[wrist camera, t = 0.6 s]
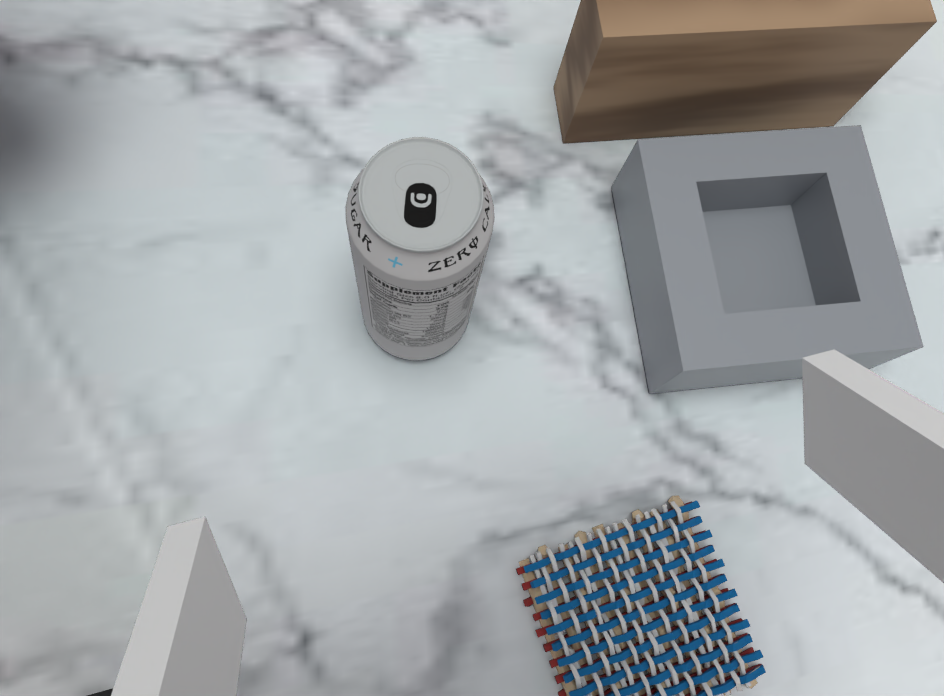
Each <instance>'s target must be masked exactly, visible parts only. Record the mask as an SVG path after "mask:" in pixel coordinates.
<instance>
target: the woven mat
mask: <svg viewBox="0 0 944 696" xmlns="http://www.w3.org/2000/svg"><path fill="white" fill-rule="evenodd" d="M668 502H669V504H670V505H671V507H672V509H669V510H668V509H667V505H666V503H665V504H664V505H662V508H663V513H659V511H658V509H657V510H656V509H651V511H652V512H650V515H651V517H650V515H649V513H648V511H646V512H644V514H643V513H642V512H641V511H640V510H639V509H638V510H636V511H634V512H632V524H631V525H630V524H629V522H628V520H627V519H626V518H625V519H624V520H622V522H623V524H624V525H625V526H624V525H623V524H622V523H618V524H617V523H615V522H614V523H612V528H613V531H612V532H611V530H610V527H609V526H607V527H605V528H604V527H603V525H602V524H601V525H598V526H595V527H593V528H592V529H593V532H594V534H595V537H596V538H594V539H592V534H591V533H590V532H588V533H587V534H586V532H582V531H578V532H577V533H576V534H575V535H574V536H575V538H574V539H575V541H576V543H577V545H575V546H573V543H572V541H571V542H568V543H567V544H568V545H567V544H566V545H564V543H563V544H559V547H558V549H559V551H560V552H558V553H555V554H553V553H552V551H551V549H550V548H547V547H546V545H543V546H541V547H539V548H538V551H537V552H536V553H535V554H536V557H537V561H536V560H535V557H534V555H531V556H530V559H531V562H532V563H530V561H529V559H528V558H527V559H525V560H522V561H520V562H519V565H520V568H517V569H516V570H517V573H518V575H520V574H523V578H524V581H525V583H523V584H522V587H523V590H524V591H525V590H527V589H528V591H529V593H530V595H531V597H529V598H527V599H525V600H523V601H524V604H525V607H526V606H530V605H532V604H534V608H535V611H536V613H535V614H533V618H534V620H535V621H537V620H539V621H540V624H541V627H542V628H540V629H538V630H535V631H536V633H537V636H538V637H540V636H543V635H545V638H546V640H547V643H546V644H544V645H543V646H544V649H545V652H548V651H550V652H551V654H552V657H553V660H550V661H549V662H550V665H551V668H553V667H556V668H557V671H558V674H559V675H556V676H555V679H556V682H557V684H559V683H562V686H563V688H564V689H562V690H561V691H559V692H558V695H559V696H586V695H587V696H631V694H633V695H634V696H675V695H676V694H678V695H679V696H722V693H723V694H724V696H728V695H730V694H731V691H730V690H731V689H732V688H733V687H735V686H736V688H737V691H742V687H741V684H745V685H746V686H747V688H748V687H750V688H752V687H754V686H755V685H756V684H757V681H756V680H755V679H756V678H757V677H758V676H760V675H762V674H764V673H766V672H765V669H764V667H763V665H762V664H757V665H755V666H752V667H750V668H749V667H748V664H747V663H748V662H751V661H755V660H758V659H760V658H762V657H763V655H762V653H761V651H760V650H757V651H755V652H754V650H753V647H751V648H749V649H747V650H745V651H743V652H742V650H741V648H743V647H744V646H745V645H747V644H749V643H751V642H753V641H752V638H751V636H750V634H747V633H745V634H742V635H740V636H737V637H736V635H735V633H734V632H735V631H739V630H742V629H745V628H747V627H750V624H749V622H748V620H747V619H746V620H742V619H741V618H740V619H737V620H734V621H732V622H730V621H729V618H728V617H729V616H730V615H732V614H734V613H735V612H738V611H740V610H739V607H738V605H737V603H733V604H730V605H728V606H725V601H724V600H727V599H730V598H733V597H735V596H737V593H736V591H735V589H732V590H729V591H728V588H726V589H723V590H719V588H718V587H717V585H719V584H721V583H723V582H725V581H727V579H726V577H725V574H720V575H717V576H715V577H712V578H711V575H710V573H709V571H711V570H714V569H717V568H720V567H723V566H725V565H724V563H723V560H722V559H720V560H716V559H714V560H712V561H709V562H707V563H705V561H704V558H703V557H704V556H706V555H708V554H710V553H712V552H714V551H715V550H714V548H713V546H712V545H708V546H706V547H703V548H700V549H699V546H698V544H697V542H698V541H701V540H704V539H707V538H710V537H712V534H711V532H710V530H708V531H702V532H699V533H696V534H693V532H692V529H691V527H693V526H695V525H698V524H700V523H702V519H701V517H700V516H696V517H694V518H691V519H689V514H688V511H690V510H693V509H696V508H699V507H700V505H699V503H698V501H694V502H692V501H691V502H689V503H686V504H684V503H683V501H682V500H681V499H680V497H679V496H672V497H671V498H670V499H669V500H668ZM645 517H646V519H645ZM673 517H675V521H676V523H677V524H676V525H675V523H674V522H673V520H672V519H671V518H673ZM664 520H667V522H668V523H669V525H670V527H668V528H667V526H666V524H665V522H664ZM647 527H650V530H651V533H652V534H649V531H648V529H647ZM604 529H605V530H604ZM605 531H606V532H605ZM635 531H636V533H637V535H638V539H635V537H634V533H633V532H635ZM678 532H680V533H681V535H682V537H683V538H681V539H680V538H679V533H678ZM672 534H674V537H675V538H674V537H673V535H672ZM614 539H617V540H618V542H619V544H620V546H617V545H616V542H615V540H614ZM654 541H655V542H656V543H657V544H658V546H659V547H658V548H656V549H655V546H654V544H653V542H654ZM609 542H610V543H609ZM610 544H611V545H610ZM597 546H599V547H600V550H601V552H602V553H600V554H599V553H598V551H597V549H596V548H595V547H597ZM568 547H569V548H568ZM611 547H612V548H611ZM641 547H642V548H643V550H644V553H643V554H642V553H641V552H640V550H639V548H641ZM685 547H687V550H688V552H689V553H688V554H686V552H685V551H684V549H683V548H685ZM579 552H580V553H581V559H582V561H580V560H579V558H578V556H577V553H579ZM623 553H624V560H625V561H623V560H622V558H621V554H623ZM680 553H681V554H682V556H681V554H680ZM572 556H573V558H572ZM661 556H664V560H665V563H662V564H661V561H660V559H659V557H661ZM615 557H616V558H615ZM573 559H574V561H575V563H574V561H573ZM560 560H563V563H564V566H565V567H564V568H561V569H559V570H558V567H557V563H556V561H560ZM602 561H605V563H606V565H607V568H605V569H603V565H602ZM647 561H648V563H649V565H650V568H649V569H647V568H646V564H645V562H647ZM617 562H618V563H617ZM691 562H693V564H694V568H692V565H691ZM597 563H598V565H597ZM685 563H686V566H687V570H686V571H685V569H684V567H683V564H685ZM640 564H641V565H640ZM540 568H541V570H542V572H543V574H544V575H543V576H541V573H540V571H539V569H540ZM584 569H585V571H586V573H585V571H584ZM627 570H628V571H627ZM533 571H535V574H536V577H537V578H536V577H535V574H534V572H533ZM578 571H579V572H580V574H581V577H582V578H580V576H579V574H578ZM665 571H669V572H670V574H671V577H669V578H667V576H666V574H665ZM621 572H622V573H623V575H624V576H625V578H623V576H622V573H621ZM628 572H629V573H628ZM586 574H587V575H586ZM629 574H630V575H629ZM566 575H568V578H569V581H570V582H569V583H567V584H564V582H563V580H562V577H564V576H566ZM698 576H699V579H700V581H701V582H699V583H698V582H697V580H696V578H695V577H698ZM608 577H611V578H612V581H613V583H611V584H610V583H609V581H608V580H607V578H608ZM652 577H654V578H655V580H656V583H654V584H653V582H652V580H651V578H652ZM689 579H691V580H692V582H693V583H694V585H691V584H690V581H689ZM546 583H547V588H548V591H547V590H546V587H545V585H544V584H546ZM604 583H605V584H604ZM605 585H606V586H605ZM674 585H676V589H677V590H674V589H673V586H674ZM585 586H586V588H585ZM591 587H592V589H593V590H592V589H591ZM629 587H630V588H629ZM571 591H573V593H574V594H575V596H574V597H572V598H570V599H569V595H568V592H571ZM658 591H660V592H661V593H662V594H663V596H661V597H659V598H658V593H657V592H658ZM704 591H705V592H706V593H707V595H705V596H704ZM614 592H618V594H619V596H617V597H615V594H614ZM652 593H653V595H652ZM696 593H698V594H699V600H697V599H696V596H695V594H696ZM609 596H610V597H609ZM595 599H596V601H595ZM638 600H639V601H638ZM679 601H681V602H682V604H683V606H682V607H680V606H679ZM596 602H597V603H596ZM591 603H592V604H591ZM546 604H547V605H546ZM635 604H636V607H635ZM547 606H548V608H547ZM577 606H579V610H580V612H581V613H578V614H575V612H574V610H573V609H574V608H576V607H577ZM592 606H593V608H592ZM621 607H623V611H624V613H621V612H620V610H619V609H618V608H621ZM665 607H666V609H667V611H668V613H666V614H665V612H664V611H663V608H665ZM709 607H711V609H712V611H713V612H710V611H709V609H708V608H709ZM702 609H703V610H704V612H705V615H703V613H702V611H701V610H702ZM616 614H617V615H616ZM551 616H552V618H553V621H554V623H553V621H552V619H551ZM640 616H641V619H642V622H643V623H641V621H640V618H639V617H640ZM686 616H688V622H685V621H684V619H683V618H684V617H686ZM596 617H597V618H598V622H599V623H598V622H597V620H596ZM602 618H603V619H604V621H603V619H602ZM646 619H647V620H646ZM581 622H585V625H586V628H582V629H580V625H579V623H581ZM627 622H628V623H629V625H630V627H628V628H627V626H626V623H627ZM669 622H672V623H673V625H674V626H673V627H670V623H669ZM715 622H718V625H719V626H718V627H716V624H715ZM709 623H711V627H710V625H709ZM565 630H566V632H567V634H565V635H564V636H563V634H564V633H565ZM607 630H608V631H609V633H610V634H608V632H607ZM651 631H652V633H653V634H652V633H651ZM697 631H698V632H699V633H698V632H697ZM601 632H603V635H604V637H603V636H602V633H601ZM645 632H646V633H647V635H648V638H647V636H646V634H645ZM689 632H692V635H693V636H692V637H691V636H690V633H689ZM589 637H590V638H591V641H592V643H591V644H589V645H586V643H585V641H584V640H586V639H587V638H589ZM632 638H635V641H636V643H635V644H633V643H632V642H631V639H632ZM677 638H679V640H680V643H678V644H677V643H676V642H675V639H677ZM722 638H724V639H725V642H722V641H721V639H722ZM717 643H718V645H717ZM567 645H571V648H570V647H568V646H567ZM608 647H609V651H610V654H609V652H608V649H607V648H608ZM614 647H615V649H614ZM652 647H653V650H654V654H653V652H652V649H651V648H652ZM697 648H698V649H699V651H700V652H699V653H697V651H696V649H697ZM563 650H564V652H565V654H564V652H563ZM615 650H616V651H615ZM594 653H596V654H597V657H598V659H596V660H593V661H592V657H591V654H594ZM682 653H685V655H686V658H685V659H683V657H682ZM728 653H730V654H731V656H732V657H730V658H729V656H728ZM637 654H641V656H642V659H640V660H638V656H637ZM632 655H633V657H632ZM721 655H724V660H723V661H721V659H720V656H721ZM676 656H677V657H676ZM633 658H634V659H633ZM677 658H678V659H677ZM618 662H621V664H622V666H623V667H620V666H619V663H618ZM663 662H665V664H666V667H664V665H663ZM703 663H704V665H705V668H703V666H702V664H703ZM568 664H569V665H568ZM710 664H711V666H710ZM569 666H570V668H571V670H570V668H569ZM600 669H602V670H603V673H604V674H603V675H601V676H598V675H597V673H596V672H597V671H599V670H600ZM735 669H737V671H738V672H737V673H735V672H734V670H735ZM645 670H647V672H648V674H647V675H644V673H643V671H645ZM690 670H692V674H690V675H689V674H688V673H687V671H690ZM727 672H729V673H730V676H727V677H726V674H725V673H727ZM626 676H627V678H628V681H625V678H624V677H626ZM671 676H672V680H673V681H669V678H670V677H671ZM684 676H685V677H684ZM714 676H716V679H717V680H716V679H715V677H714ZM574 679H575V680H574ZM575 681H576V682H575ZM696 684H698V685H699V687H697V688H694V685H696ZM607 685H608V686H609V688H608V689H607V690H605V691H603V686H607ZM651 685H653V686H654V688H652V689H651V690H650V686H651ZM644 687H645V688H646V691H645V688H644ZM688 687H690V691H689V689H688Z"/></svg>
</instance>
